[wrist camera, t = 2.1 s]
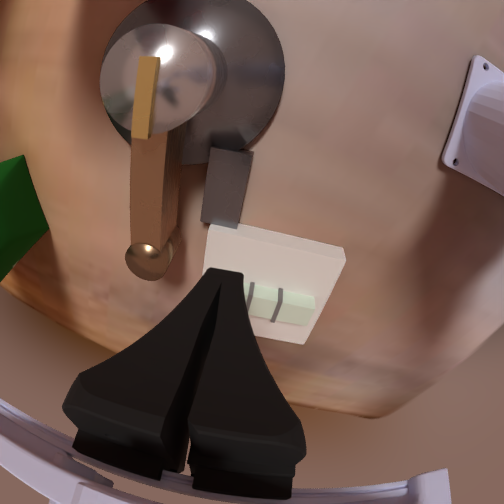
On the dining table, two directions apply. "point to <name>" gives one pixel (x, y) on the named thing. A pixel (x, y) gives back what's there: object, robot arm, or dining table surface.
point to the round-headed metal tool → (158, 127)
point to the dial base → (231, 99)
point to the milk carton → (18, 214)
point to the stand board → (277, 277)
